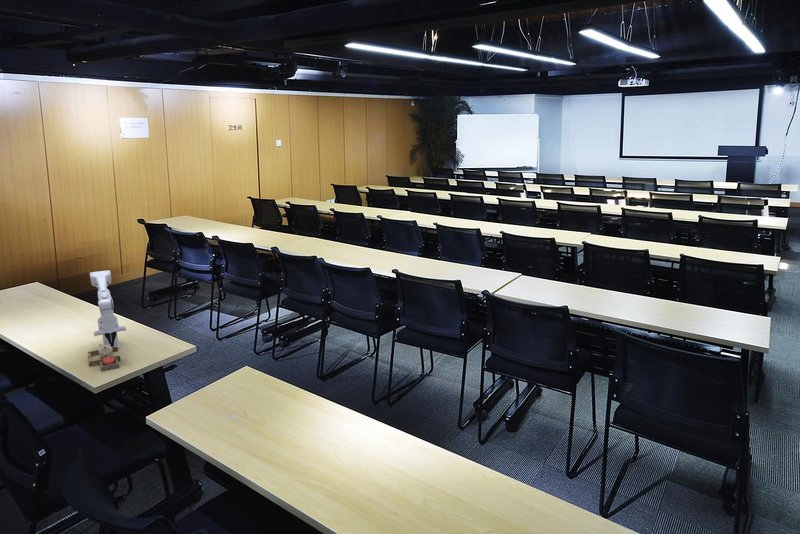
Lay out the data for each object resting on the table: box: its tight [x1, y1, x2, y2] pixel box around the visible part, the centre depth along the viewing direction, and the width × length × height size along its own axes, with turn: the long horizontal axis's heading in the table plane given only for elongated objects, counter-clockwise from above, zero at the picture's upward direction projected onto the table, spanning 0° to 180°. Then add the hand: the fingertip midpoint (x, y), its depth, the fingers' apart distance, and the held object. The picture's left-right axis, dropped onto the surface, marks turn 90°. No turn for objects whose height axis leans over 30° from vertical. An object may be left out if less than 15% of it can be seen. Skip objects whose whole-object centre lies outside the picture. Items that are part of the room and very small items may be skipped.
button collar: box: [99, 358, 120, 372], centre depth 280 cm, size 8×8×2 cm
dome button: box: [103, 356, 115, 366], centre depth 279 cm, size 5×5×4 cm
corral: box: [87, 346, 122, 368], centre depth 289 cm, size 15×14×2 cm
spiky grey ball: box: [97, 343, 114, 359], centre depth 289 cm, size 9×8×10 cm
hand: (112, 346), depth 281 cm, fingers closed
